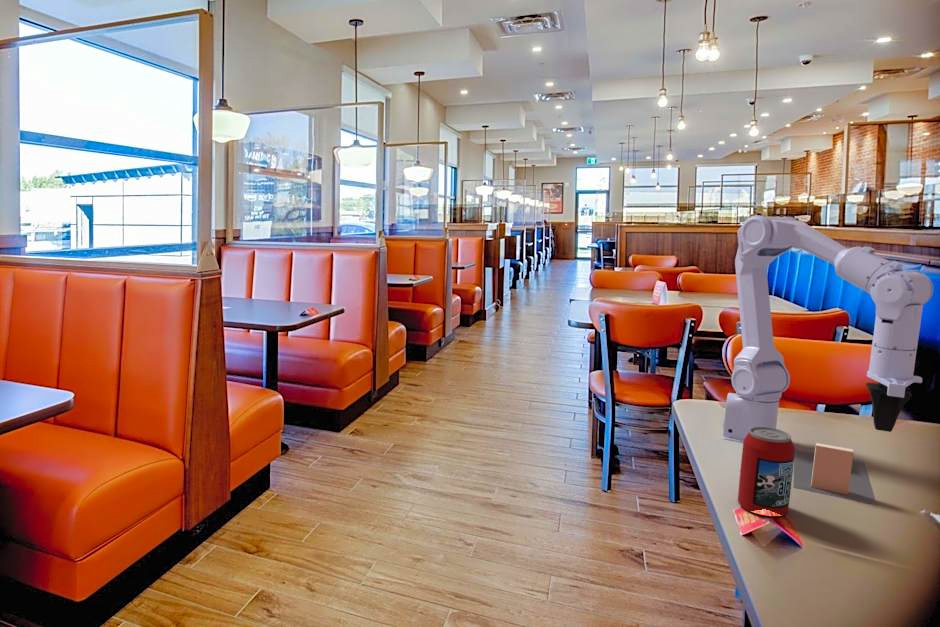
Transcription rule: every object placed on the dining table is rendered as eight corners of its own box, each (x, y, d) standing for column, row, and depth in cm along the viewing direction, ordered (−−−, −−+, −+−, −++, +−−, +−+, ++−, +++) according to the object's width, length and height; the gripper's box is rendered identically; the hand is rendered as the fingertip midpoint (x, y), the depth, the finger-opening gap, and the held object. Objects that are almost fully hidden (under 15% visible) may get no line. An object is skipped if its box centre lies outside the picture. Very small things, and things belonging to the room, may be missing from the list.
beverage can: (767, 525, 81) (776, 444, 79) (727, 504, 87) (734, 428, 85) (797, 515, 84) (807, 437, 82) (756, 496, 90) (764, 422, 88)
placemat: (793, 489, 93) (793, 487, 92) (794, 451, 109) (794, 449, 109) (875, 507, 87) (876, 504, 87) (863, 464, 104) (864, 462, 103)
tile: (811, 486, 93) (816, 445, 92) (811, 483, 94) (815, 442, 93) (847, 494, 90) (853, 452, 89) (847, 491, 92) (852, 449, 91)
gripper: (935, 358, 82) (922, 449, 84) (916, 342, 95) (905, 421, 97) (876, 352, 86) (865, 439, 88) (865, 337, 98) (855, 414, 100)
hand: (882, 429), depth 93 cm, fingers closed
